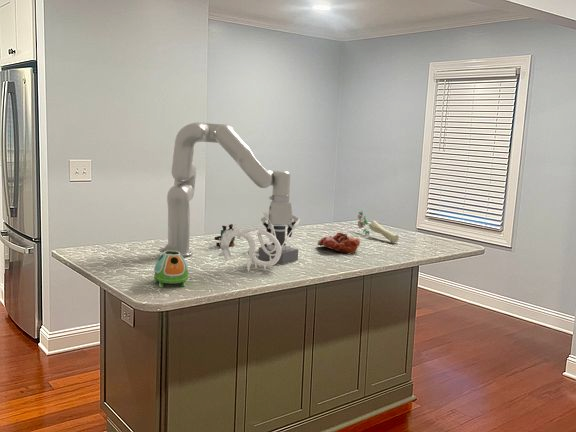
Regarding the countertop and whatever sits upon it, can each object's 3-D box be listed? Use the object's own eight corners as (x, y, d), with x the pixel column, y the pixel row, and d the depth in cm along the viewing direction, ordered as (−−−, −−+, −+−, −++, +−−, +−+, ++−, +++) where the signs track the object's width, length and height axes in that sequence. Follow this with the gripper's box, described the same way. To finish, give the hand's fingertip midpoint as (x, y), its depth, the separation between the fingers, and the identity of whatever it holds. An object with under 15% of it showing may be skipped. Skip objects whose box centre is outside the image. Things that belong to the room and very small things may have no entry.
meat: (309, 246, 287) (310, 226, 285) (345, 244, 295) (346, 225, 294) (328, 255, 268) (329, 235, 266) (367, 253, 276) (368, 233, 275)
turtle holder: (180, 274, 223) (181, 245, 221) (192, 287, 207) (192, 255, 205) (148, 276, 218) (149, 246, 216) (157, 290, 202) (158, 257, 200)
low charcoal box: (282, 264, 247) (283, 248, 246) (258, 258, 255) (258, 243, 254) (297, 260, 255) (298, 244, 254) (273, 254, 264) (274, 239, 263)
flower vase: (386, 256, 304) (347, 230, 331) (404, 248, 309) (364, 223, 336) (386, 238, 298) (346, 213, 325) (404, 230, 303) (363, 206, 330)
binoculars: (222, 223, 284) (237, 224, 278) (223, 244, 285) (238, 245, 279) (209, 225, 277) (224, 226, 271) (210, 246, 278) (225, 248, 272)
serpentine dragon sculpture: (300, 255, 258) (289, 201, 256) (321, 258, 240) (310, 200, 238) (211, 280, 240) (199, 222, 238) (226, 284, 222) (213, 222, 220)
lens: (286, 249, 253) (287, 227, 252) (274, 249, 251) (275, 227, 250) (282, 246, 258) (283, 225, 257) (270, 247, 256) (271, 225, 255)
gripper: (265, 200, 244) (263, 239, 247) (302, 199, 251) (300, 237, 254) (259, 197, 251) (258, 235, 254) (295, 197, 258) (293, 234, 260)
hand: (279, 236), depth 254 cm, fingers open, 9 cm apart
